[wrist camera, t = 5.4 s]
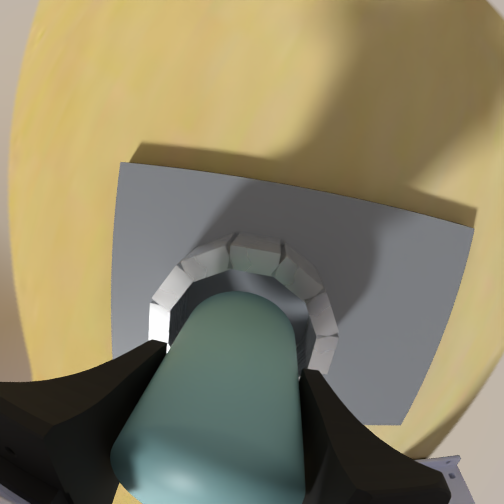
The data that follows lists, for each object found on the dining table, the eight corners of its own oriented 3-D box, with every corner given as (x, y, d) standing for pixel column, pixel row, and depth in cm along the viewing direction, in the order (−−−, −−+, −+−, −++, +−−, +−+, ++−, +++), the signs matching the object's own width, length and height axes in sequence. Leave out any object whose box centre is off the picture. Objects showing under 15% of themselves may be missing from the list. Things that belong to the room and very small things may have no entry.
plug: (306, 302, 13) (333, 446, 6) (282, 394, 15) (279, 538, 7) (189, 280, 14) (99, 397, 6) (181, 375, 15) (121, 505, 7)
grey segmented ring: (343, 250, 16) (357, 267, 13) (306, 388, 18) (309, 423, 15) (177, 221, 16) (155, 231, 13) (165, 362, 18) (148, 392, 15)
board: (466, 225, 16) (474, 228, 15) (397, 416, 19) (400, 425, 18) (128, 162, 17) (120, 162, 16) (119, 372, 20) (114, 379, 19)
